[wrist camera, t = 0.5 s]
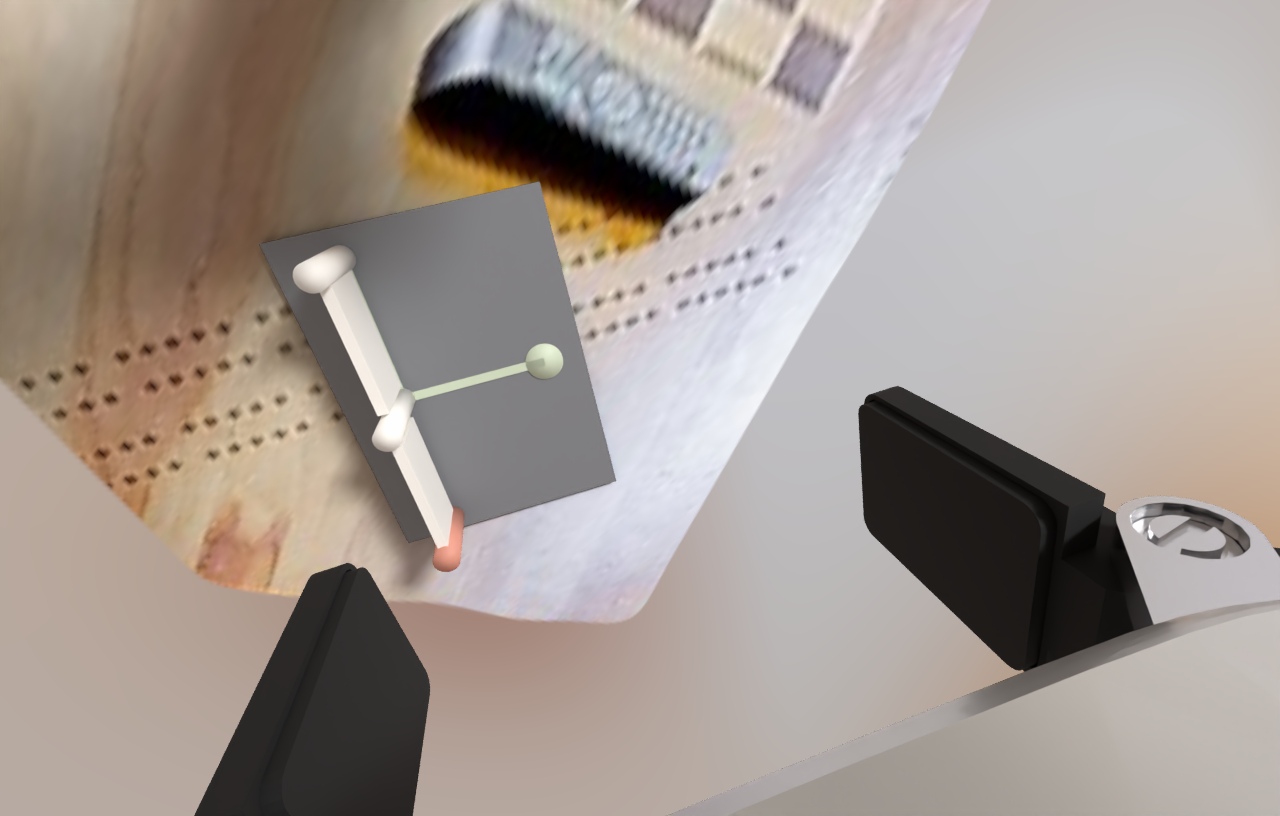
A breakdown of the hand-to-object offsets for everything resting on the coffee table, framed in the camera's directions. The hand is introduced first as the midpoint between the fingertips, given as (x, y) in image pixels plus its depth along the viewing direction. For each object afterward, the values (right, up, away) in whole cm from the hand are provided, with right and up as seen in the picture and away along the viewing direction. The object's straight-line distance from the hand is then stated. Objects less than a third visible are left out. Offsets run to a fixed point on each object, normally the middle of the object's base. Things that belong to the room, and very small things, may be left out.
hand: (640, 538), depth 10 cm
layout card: (-14, +5, +33) cm, 36 cm away
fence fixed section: (-20, +8, +30) cm, 36 cm away
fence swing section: (-17, -3, +35) cm, 39 cm away
